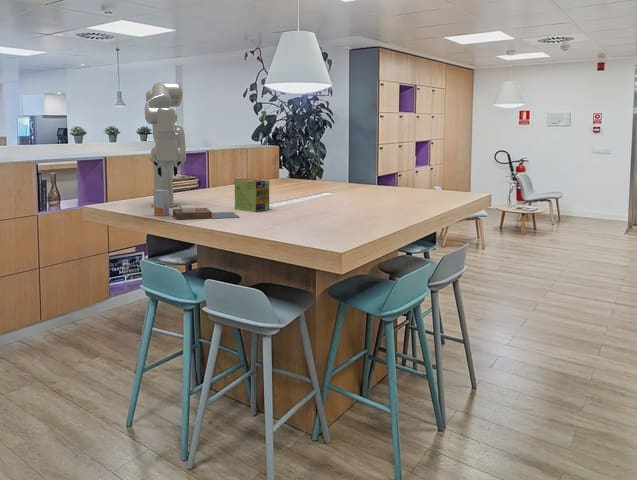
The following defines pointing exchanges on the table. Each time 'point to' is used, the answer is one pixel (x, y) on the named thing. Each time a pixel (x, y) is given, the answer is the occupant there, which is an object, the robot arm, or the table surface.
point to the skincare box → (161, 202)
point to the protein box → (252, 194)
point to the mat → (224, 215)
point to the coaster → (187, 208)
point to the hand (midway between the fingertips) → (167, 175)
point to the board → (192, 214)
